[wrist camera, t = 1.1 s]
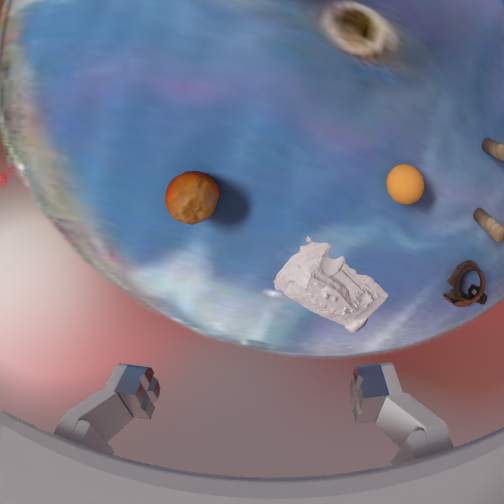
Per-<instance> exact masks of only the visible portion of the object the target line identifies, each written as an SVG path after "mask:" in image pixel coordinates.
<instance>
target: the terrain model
mask: <svg viewBox="0 0 504 504" xmlns="http://www.w3.org/2000/svg"><path fill="white" fill-rule="evenodd" d="M309 233H310V232H309ZM306 237H307V240H306V242H310V241H311V239H310V237H309V238H308V236H306ZM331 247H332V246H331V245H330V244H328V243H325V242H324V243H322V244H321V243H315V242H311V243H310V244H308V245H307V246H301V247H300V251H299V253H297V254H295V255H293V256H292V257H291V258H290V260H289V261H288V262H287V263H286V264H285V266H284V267H283V268H282V269H281V271H280V272H279V273H278V275H277V276H276V280H274V283H275V289H276V290H281V291H283V292H284V295H286V296H288V297H289V298H290V299H292V300H294V301H296V302H298V303H301V304H302V305H303V306H304V307H305V308H307V309H309V310H311V311H312V312H314V313H316V314H319V315H321V316H323V317H325V318H327V319H330V320H332V321H336V322H338V323H340V324H343V325H344V326H345V328H346V329H348V330H349V331H350V332H355V331H356V330H358V329H359V328H361V326H362V325H363V324H364V323H365V321H366V320H367V318H368V317H369V316H370V315H371V314H372V313H373V312H374V311H375V310H376V309H377V308H378V307H379V306H380V305H381V304H382V303H384V302H385V300H386V298H387V297H388V295H387V294H386V293H385V292H384V291H383V289H382V288H381V287H380V286H379V285H378V284H376V283H375V282H374V280H373V279H372V278H371V277H368V276H365V275H360V274H359V275H358V274H357V272H356V271H355V270H353V269H350V268H349V267H348V265H347V264H345V258H344V257H343V256H341V257H339V258H338V259H335V260H333V259H330V258H329V256H328V254H329V252H330V249H331Z"/></svg>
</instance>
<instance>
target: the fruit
mask: <svg viewBox="0 0 504 504" xmlns="http://www.w3.org/2000/svg"><path fill="white" fill-rule="evenodd" d="M219 196H220V190H219V187H218V185H217V183H216V182H215V181H214V180H213V179H212V178H211V177H210V176H208V175H207V174H204V173H202V172H199V171H191V172H190V171H188V172H185V173H183V174H181V175H179V176H177V177H175V178H174V179H173V180H172V181H171V182H170V184H169V185H168V188H167V190H166V195H165V201H166V206H167V209H168V211H169V213H170V214H171V215H172V216H173V217H174V218H175V219H177V220H178V221H180V222H183V223H187V224H191V225H193V224H196V223H199V222H202V221H204V220H206V219H208V218H210V217H211V216H212V214H213V212H214V211H215V209H216V205H217V202H218V199H219Z"/></svg>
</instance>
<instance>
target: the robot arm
mask: <svg viewBox="0 0 504 504" xmlns="http://www.w3.org/2000/svg"><path fill="white" fill-rule="evenodd" d="M153 374H154V372H153V370H152V368H149V367H142V366H135V365H128V364H122V363H119V364H118V365H117V366H116V368H115V370H114V372H113V374H112V375H111V377H110V379H109V381H108V383H107V385H106V387H105V389H104V390H100V391H98V392H97V393H95V394H94V395H92V396H90V397H89V398H87V399H86V400H84V401H83V402H81V403H80V404H78V405H77V406H75V407H73V408H72V409H70V410H69V411H67V412H66V413H64V415H63V417H62V419H61V420H60V422H59V424H58V426H57V428H56V430H55V432H54V434H53V433H51V432H48V431H46V430H43V429H41V428H39V427H37V426H35V425H33V424H31V423H29V422H27V421H25V420H22V419H21V418H19V417H17V416H15V415H13V414H11V413H9V412H7V411H4V410H1V411H0V504H504V427H503V428H501V429H499V430H497V431H495V432H493V433H490V434H488V435H485V436H483V437H481V438H478V439H476V440H473V441H471V442H468V443H466V444H463V445H460V446H457V447H453V444H452V441H451V438H450V435H449V432H448V429H447V426H446V423H445V422H444V421H443V420H441V419H440V418H439V417H438V416H436V415H435V414H434V413H432V412H431V411H430V410H428V409H427V408H425V407H424V406H423V405H421V404H420V403H419V402H418V401H417V400H415V399H414V398H413V397H411V396H410V395H409V394H407V393H403V392H402V389H401V386H400V383H399V380H398V377H397V374H396V371H395V369H394V366H393V364H392V363H391V362H390V363H382V364H374V365H366V366H358V367H355V368H354V371H353V375H354V378H353V379H352V380H351V385H350V397H351V402H352V403H353V404H354V409H353V414H354V419H355V424H360V423H368V422H375V423H376V424H377V425H378V426H379V427H380V428H381V429H382V430H383V431H384V432H385V433H386V434H387V436H389V438H391V440H392V441H393V442H394V443H395V444H396V445H397V446H398V447H399V448H400V450H399V451H398V452H397V454H396V455H395V457H394V458H393V459H392V461H391V463H392V465H390V466H385V467H380V468H375V469H368V470H363V471H356V472H349V473H341V474H332V475H321V476H307V477H270V478H269V477H239V476H226V475H215V474H206V473H198V472H191V471H184V470H178V469H172V468H166V467H161V466H156V465H151V464H147V463H142V462H138V461H134V460H130V459H126V458H123V457H119V456H115V455H113V454H114V450H113V448H112V447H111V446H110V445H109V444H108V443H107V442H108V441H109V440H110V439H111V438H112V437H113V436H115V434H117V433H118V432H119V431H120V430H121V429H122V428H123V427H124V426H125V425H127V424H128V423H129V422H130V421H131V420H132V419H133V417H135V418H141V419H149V420H151V417H152V414H153V412H154V409H155V407H154V405H153V403H154V402H156V401H157V400H158V397H159V394H160V386H159V382H158V380H157V379H156V378H154V377H153Z"/></svg>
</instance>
